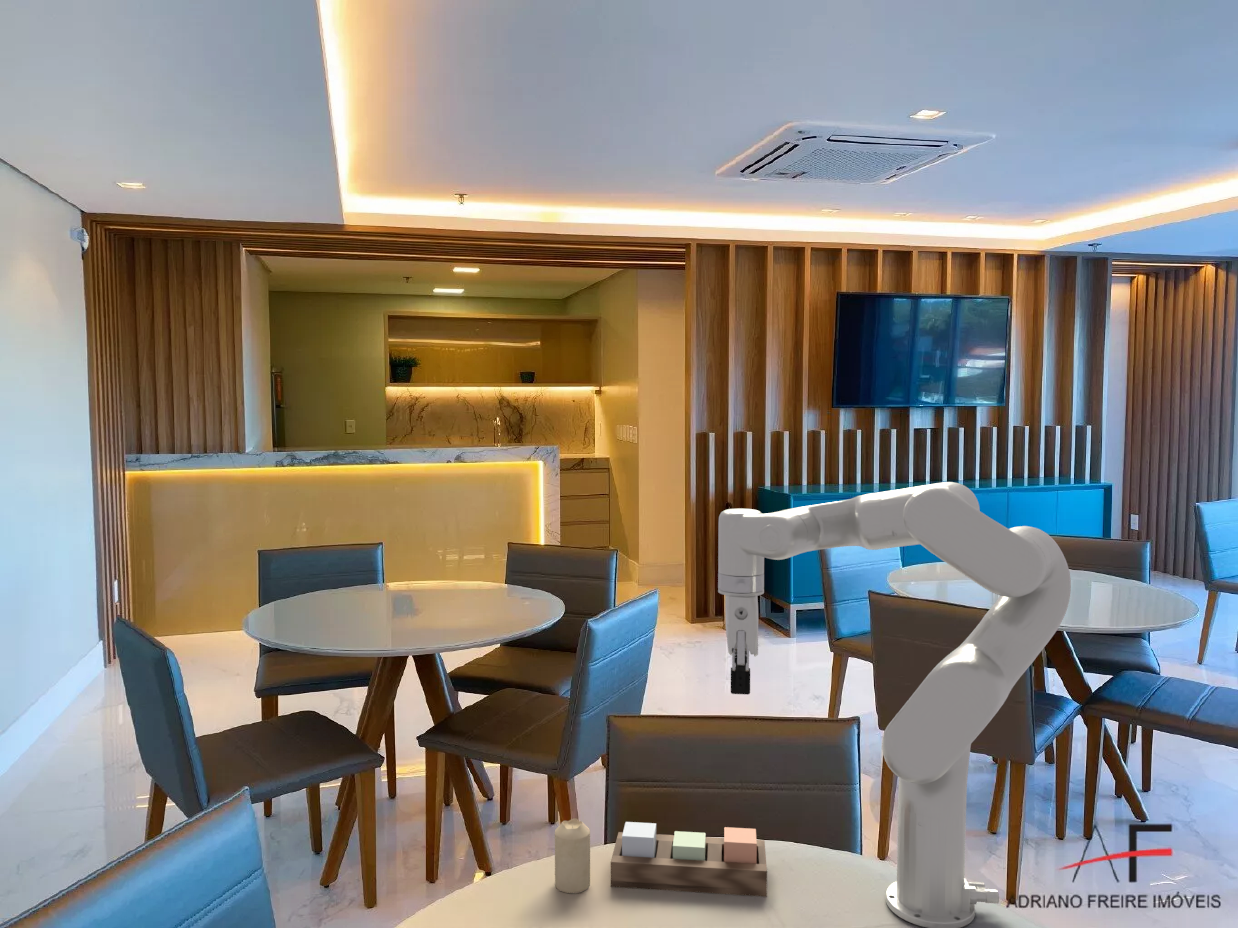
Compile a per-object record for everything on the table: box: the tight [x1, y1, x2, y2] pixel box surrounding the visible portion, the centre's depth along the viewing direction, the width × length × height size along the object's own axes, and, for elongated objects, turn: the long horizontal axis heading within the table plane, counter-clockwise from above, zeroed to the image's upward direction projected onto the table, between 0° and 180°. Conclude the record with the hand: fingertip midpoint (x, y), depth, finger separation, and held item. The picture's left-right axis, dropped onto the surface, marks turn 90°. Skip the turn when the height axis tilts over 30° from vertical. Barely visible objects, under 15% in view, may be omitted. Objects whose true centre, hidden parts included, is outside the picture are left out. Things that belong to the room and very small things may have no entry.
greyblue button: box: [622, 821, 657, 858], centre depth 144 cm, size 5×5×4 cm
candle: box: [554, 817, 591, 894], centre depth 140 cm, size 6×6×10 cm
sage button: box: [673, 830, 707, 861], centre depth 143 cm, size 5×5×4 cm
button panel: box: [610, 831, 768, 898], centre depth 143 cm, size 24×10×4 cm, turn 83°
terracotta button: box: [723, 826, 757, 864], centre depth 142 cm, size 5×5×4 cm
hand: (740, 692), depth 150 cm, fingers closed
